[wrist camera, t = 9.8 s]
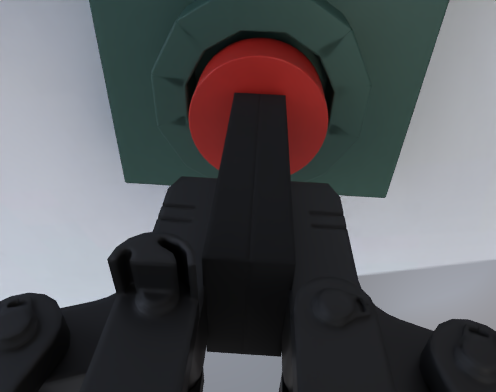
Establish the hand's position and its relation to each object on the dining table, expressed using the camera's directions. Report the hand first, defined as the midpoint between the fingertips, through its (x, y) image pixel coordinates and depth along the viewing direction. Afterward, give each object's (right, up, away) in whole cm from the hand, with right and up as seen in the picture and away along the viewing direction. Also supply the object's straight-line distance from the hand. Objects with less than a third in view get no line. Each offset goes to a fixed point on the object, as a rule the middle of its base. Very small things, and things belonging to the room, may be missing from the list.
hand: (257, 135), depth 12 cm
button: (0, +1, +2) cm, 2 cm away
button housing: (0, +4, +4) cm, 6 cm away
